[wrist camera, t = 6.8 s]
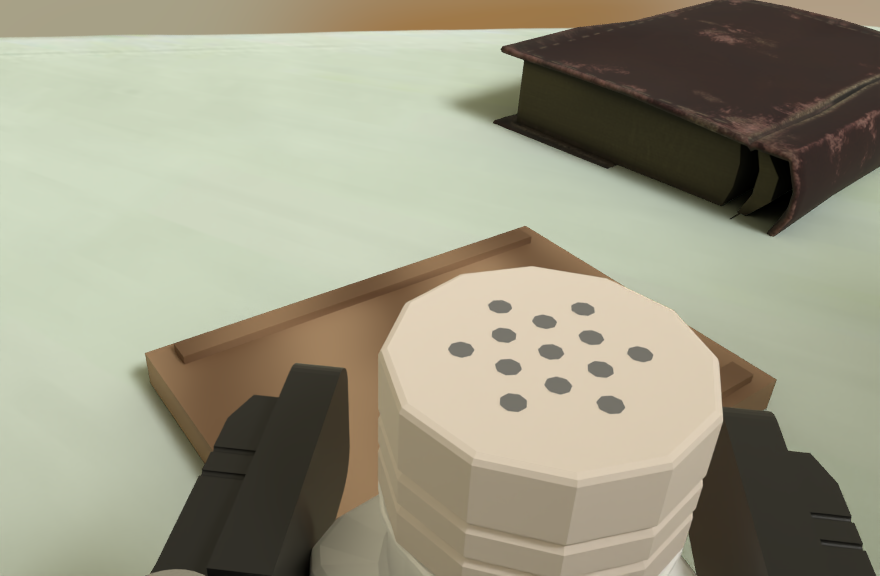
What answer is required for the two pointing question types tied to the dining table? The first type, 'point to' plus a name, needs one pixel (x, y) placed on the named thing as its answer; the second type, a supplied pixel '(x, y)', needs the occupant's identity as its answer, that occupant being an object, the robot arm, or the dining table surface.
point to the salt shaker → (533, 434)
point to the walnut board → (360, 350)
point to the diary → (712, 101)
